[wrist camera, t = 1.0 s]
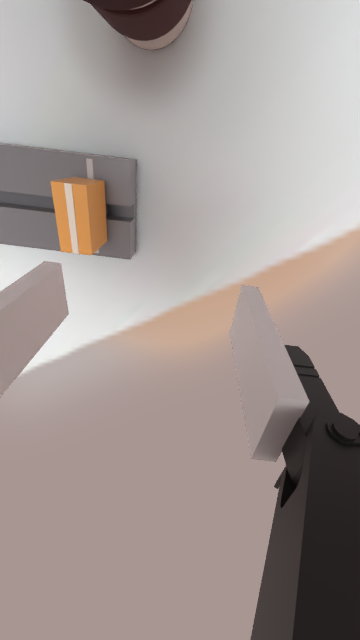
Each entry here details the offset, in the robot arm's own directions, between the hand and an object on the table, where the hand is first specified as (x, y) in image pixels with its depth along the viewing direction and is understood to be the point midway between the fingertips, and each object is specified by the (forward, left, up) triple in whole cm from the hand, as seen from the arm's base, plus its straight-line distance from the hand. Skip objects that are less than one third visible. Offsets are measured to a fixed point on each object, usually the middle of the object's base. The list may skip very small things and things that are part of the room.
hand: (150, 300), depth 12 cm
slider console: (0, -17, -21) cm, 27 cm away
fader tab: (0, -9, -20) cm, 22 cm away
